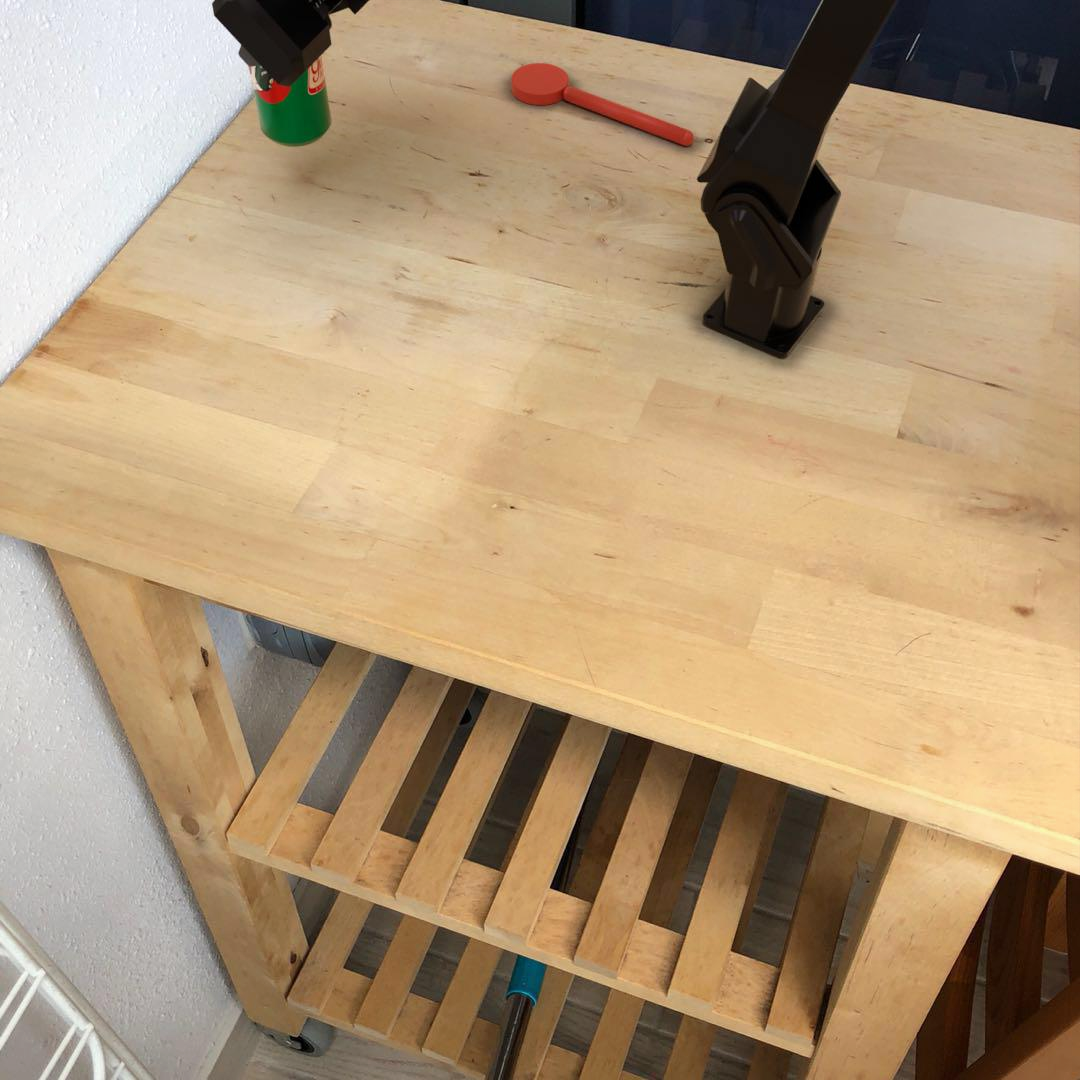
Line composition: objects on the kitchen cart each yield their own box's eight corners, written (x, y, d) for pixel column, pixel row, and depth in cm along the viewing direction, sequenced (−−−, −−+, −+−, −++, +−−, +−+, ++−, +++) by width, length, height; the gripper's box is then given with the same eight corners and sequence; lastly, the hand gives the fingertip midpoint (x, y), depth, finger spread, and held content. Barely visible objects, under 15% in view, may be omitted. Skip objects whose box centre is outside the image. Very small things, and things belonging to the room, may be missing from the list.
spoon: (706, 132, 96) (708, 119, 95) (677, 161, 94) (678, 148, 93) (531, 67, 102) (532, 54, 101) (500, 93, 99) (499, 80, 98)
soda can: (335, 146, 84) (310, -21, 75) (263, 154, 84) (229, -13, 74) (329, 107, 88) (304, -58, 78) (260, 114, 87) (226, -51, 78)
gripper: (370, -280, 72) (246, -118, 83) (206, -160, 61) (89, 7, 72) (493, -121, 76) (360, 12, 88) (360, 17, 66) (227, 149, 77)
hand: (265, 40), depth 81 cm, fingers closed on soda can, 5 cm apart
